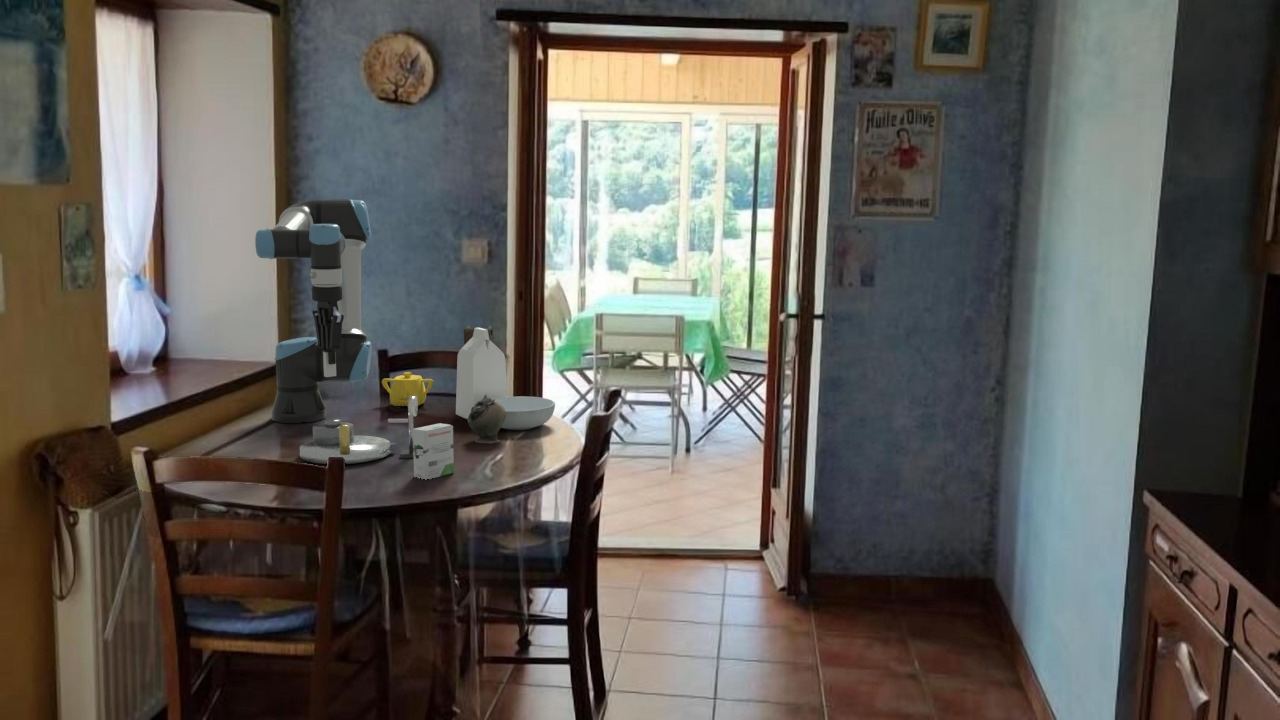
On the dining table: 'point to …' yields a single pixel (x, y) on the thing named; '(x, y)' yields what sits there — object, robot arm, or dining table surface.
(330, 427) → the cover
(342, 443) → the turntable
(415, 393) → the teapot
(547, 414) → the serving bowl
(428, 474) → the ink box
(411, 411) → the rod on square base
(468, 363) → the milk
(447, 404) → the dining table surface
